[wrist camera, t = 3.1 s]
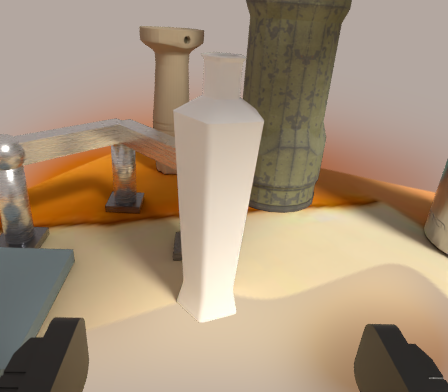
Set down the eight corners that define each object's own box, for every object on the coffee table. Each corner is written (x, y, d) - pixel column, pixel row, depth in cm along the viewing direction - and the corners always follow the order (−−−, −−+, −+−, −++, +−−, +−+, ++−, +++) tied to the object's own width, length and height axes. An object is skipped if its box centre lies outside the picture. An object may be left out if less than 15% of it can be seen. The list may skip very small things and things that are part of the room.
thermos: (306, 228, 34) (422, -383, 19) (202, 189, 40) (226, -301, 25) (340, 196, 41) (447, -274, 25) (247, 167, 47) (288, -230, 31)
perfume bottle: (161, 319, 23) (160, 54, 16) (183, 275, 27) (190, 47, 20) (236, 335, 22) (266, 64, 16) (248, 288, 26) (276, 55, 20)
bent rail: (211, 201, 38) (216, 115, 34) (213, 261, 29) (221, 153, 25) (43, 194, 36) (30, 104, 33) (-10, 254, 27) (-36, 140, 24)
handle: (135, 169, 43) (130, 25, 37) (181, 158, 48) (183, 27, 41) (159, 183, 40) (158, 29, 34) (205, 171, 44) (213, 31, 38)
